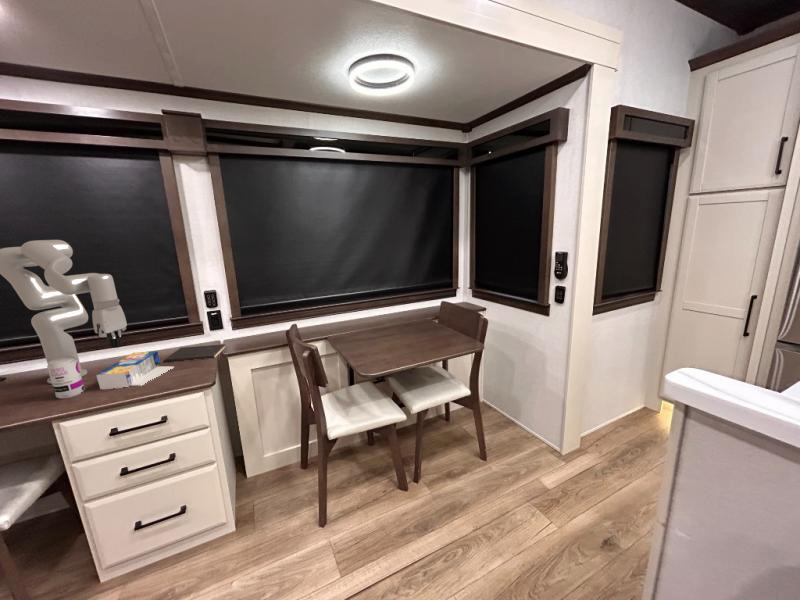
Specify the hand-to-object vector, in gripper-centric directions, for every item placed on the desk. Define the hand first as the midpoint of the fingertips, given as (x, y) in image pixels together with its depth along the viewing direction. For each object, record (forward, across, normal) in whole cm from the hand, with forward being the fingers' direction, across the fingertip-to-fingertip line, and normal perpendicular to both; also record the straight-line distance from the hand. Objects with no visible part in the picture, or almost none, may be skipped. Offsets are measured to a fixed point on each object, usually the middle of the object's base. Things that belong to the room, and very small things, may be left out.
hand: (116, 346), depth 131 cm
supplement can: (+17, +9, -15) cm, 25 cm away
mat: (+17, -7, 0) cm, 18 cm away
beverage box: (+14, +4, -1) cm, 15 cm away
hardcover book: (+18, -32, +9) cm, 38 cm away
